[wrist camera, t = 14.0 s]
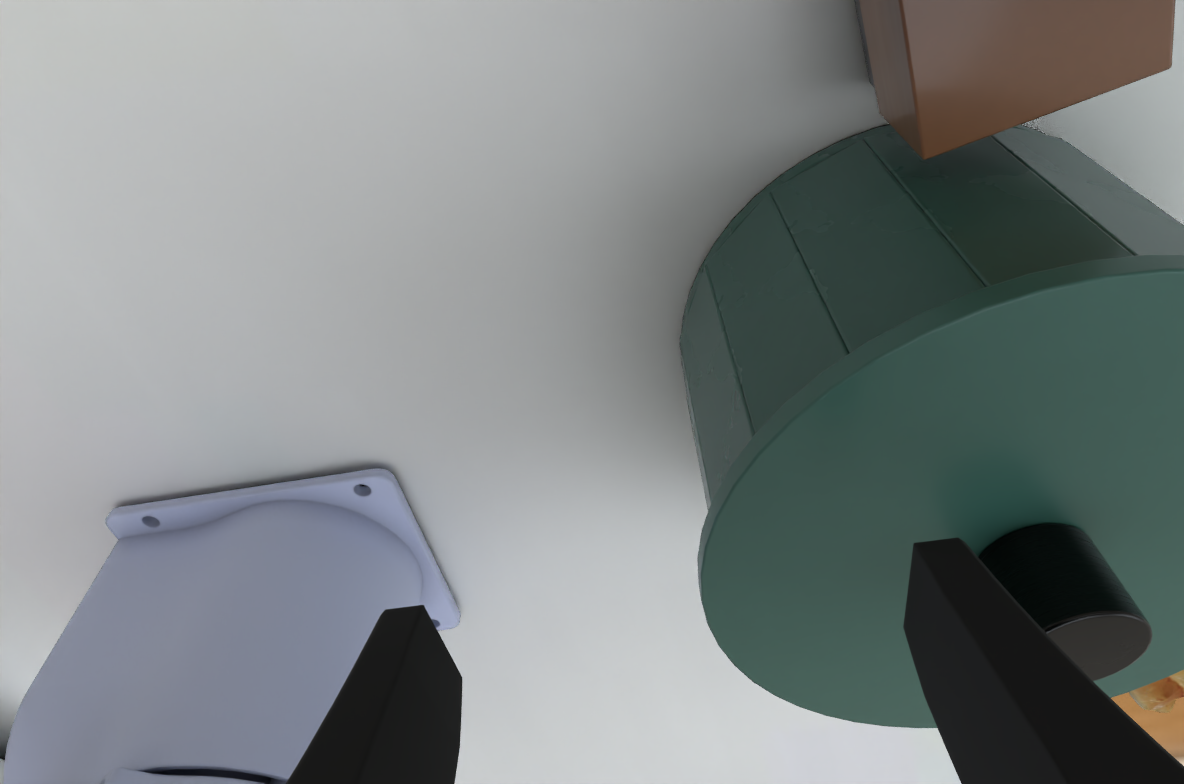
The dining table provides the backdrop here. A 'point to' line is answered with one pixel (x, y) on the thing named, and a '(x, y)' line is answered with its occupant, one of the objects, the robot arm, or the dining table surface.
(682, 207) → the dining table surface
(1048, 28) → the brown rectangular block
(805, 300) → the pot
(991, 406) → the pot lid
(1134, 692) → the pastry
